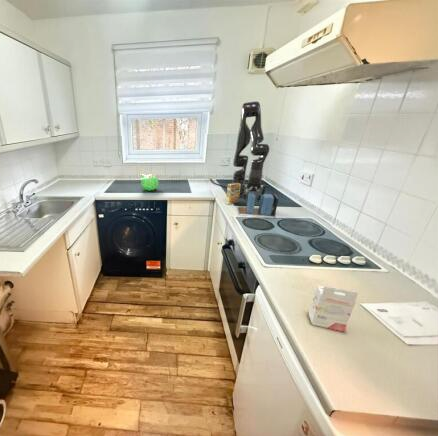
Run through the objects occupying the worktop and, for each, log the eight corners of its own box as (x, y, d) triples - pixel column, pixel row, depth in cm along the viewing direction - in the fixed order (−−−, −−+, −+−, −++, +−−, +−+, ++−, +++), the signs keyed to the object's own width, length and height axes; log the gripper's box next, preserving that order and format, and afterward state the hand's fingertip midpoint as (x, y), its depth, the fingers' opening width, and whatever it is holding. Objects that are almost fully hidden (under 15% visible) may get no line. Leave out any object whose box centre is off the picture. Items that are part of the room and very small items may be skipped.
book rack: (237, 208, 170) (240, 191, 165) (271, 211, 165) (274, 193, 160) (239, 215, 160) (242, 196, 155) (274, 218, 154) (279, 199, 149)
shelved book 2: (263, 210, 165) (266, 193, 160) (267, 210, 164) (271, 194, 159) (265, 214, 157) (269, 197, 152) (270, 215, 156) (274, 198, 151)
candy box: (228, 204, 179) (231, 185, 173) (225, 203, 183) (227, 183, 177) (238, 203, 181) (241, 184, 175) (234, 201, 185) (237, 182, 179)
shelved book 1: (258, 209, 166) (261, 193, 161) (262, 210, 165) (266, 193, 160) (260, 214, 158) (264, 197, 153) (265, 214, 157) (269, 197, 152)
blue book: (247, 213, 159) (250, 196, 155) (246, 209, 167) (249, 192, 163) (252, 213, 159) (255, 196, 154) (250, 209, 167) (253, 193, 162)
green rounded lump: (158, 192, 209) (159, 176, 204) (139, 192, 210) (139, 176, 204) (158, 187, 226) (158, 172, 220) (140, 187, 226) (140, 172, 221)
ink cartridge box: (338, 320, 76) (353, 283, 70) (344, 332, 72) (360, 293, 66) (307, 313, 79) (319, 276, 73) (311, 324, 75) (324, 286, 69)
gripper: (266, 175, 155) (261, 198, 161) (243, 174, 159) (239, 197, 165) (268, 177, 148) (263, 202, 155) (244, 176, 152) (240, 200, 158)
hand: (251, 199), depth 160 cm, fingers open, 8 cm apart
